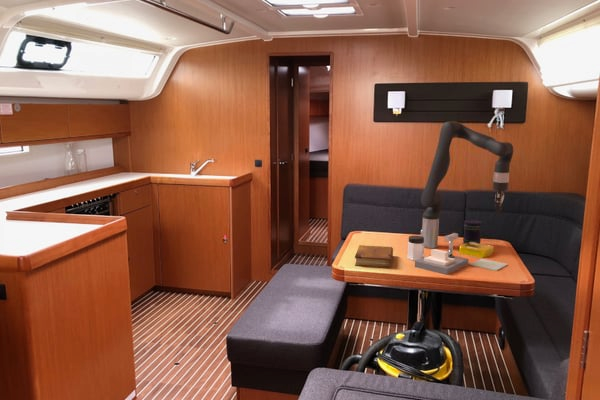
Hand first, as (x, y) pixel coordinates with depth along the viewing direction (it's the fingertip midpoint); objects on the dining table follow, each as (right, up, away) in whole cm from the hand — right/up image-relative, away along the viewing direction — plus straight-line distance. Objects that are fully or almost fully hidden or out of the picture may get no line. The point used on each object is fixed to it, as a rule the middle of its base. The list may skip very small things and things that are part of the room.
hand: (498, 211), depth 253 cm
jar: (-41, -26, +10) cm, 50 cm away
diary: (-64, -27, +6) cm, 70 cm away
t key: (-26, -24, +1) cm, 35 cm away
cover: (-33, -25, -6) cm, 42 cm away
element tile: (-4, -25, +21) cm, 33 cm away
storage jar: (-1, -22, +37) cm, 42 cm away
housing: (-30, -28, -3) cm, 42 cm away
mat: (-6, -28, -2) cm, 29 cm away
